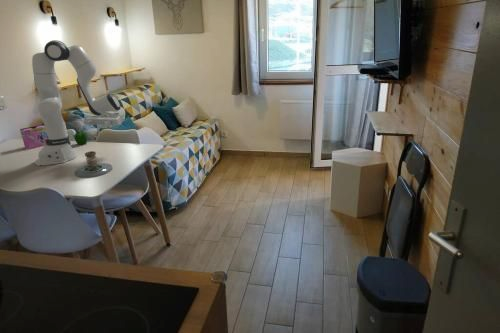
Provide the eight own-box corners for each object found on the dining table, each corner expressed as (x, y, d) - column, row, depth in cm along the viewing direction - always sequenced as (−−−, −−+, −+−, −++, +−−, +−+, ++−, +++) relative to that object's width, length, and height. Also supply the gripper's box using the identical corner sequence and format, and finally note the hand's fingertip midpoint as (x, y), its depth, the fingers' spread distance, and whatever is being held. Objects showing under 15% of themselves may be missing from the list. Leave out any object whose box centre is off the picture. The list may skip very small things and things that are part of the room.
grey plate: (75, 180, 188) (74, 177, 187) (74, 168, 204) (73, 165, 204) (114, 173, 196) (113, 170, 195) (110, 162, 212) (110, 159, 212)
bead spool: (88, 172, 196) (84, 155, 192) (88, 168, 201) (84, 152, 197) (99, 170, 198) (95, 153, 195) (98, 166, 203) (95, 150, 199)
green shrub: (86, 145, 246) (83, 131, 242) (74, 146, 245) (71, 132, 242) (90, 141, 254) (87, 128, 250) (78, 142, 253) (75, 129, 250)
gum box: (60, 139, 263) (55, 121, 258) (64, 141, 258) (59, 123, 253) (24, 147, 246) (19, 128, 241) (28, 149, 241) (23, 130, 236)
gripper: (91, 112, 215) (78, 118, 202) (123, 113, 212) (112, 119, 200) (93, 122, 217) (80, 128, 204) (124, 123, 215) (113, 129, 202)
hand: (96, 123), depth 202 cm, fingers open, 8 cm apart
